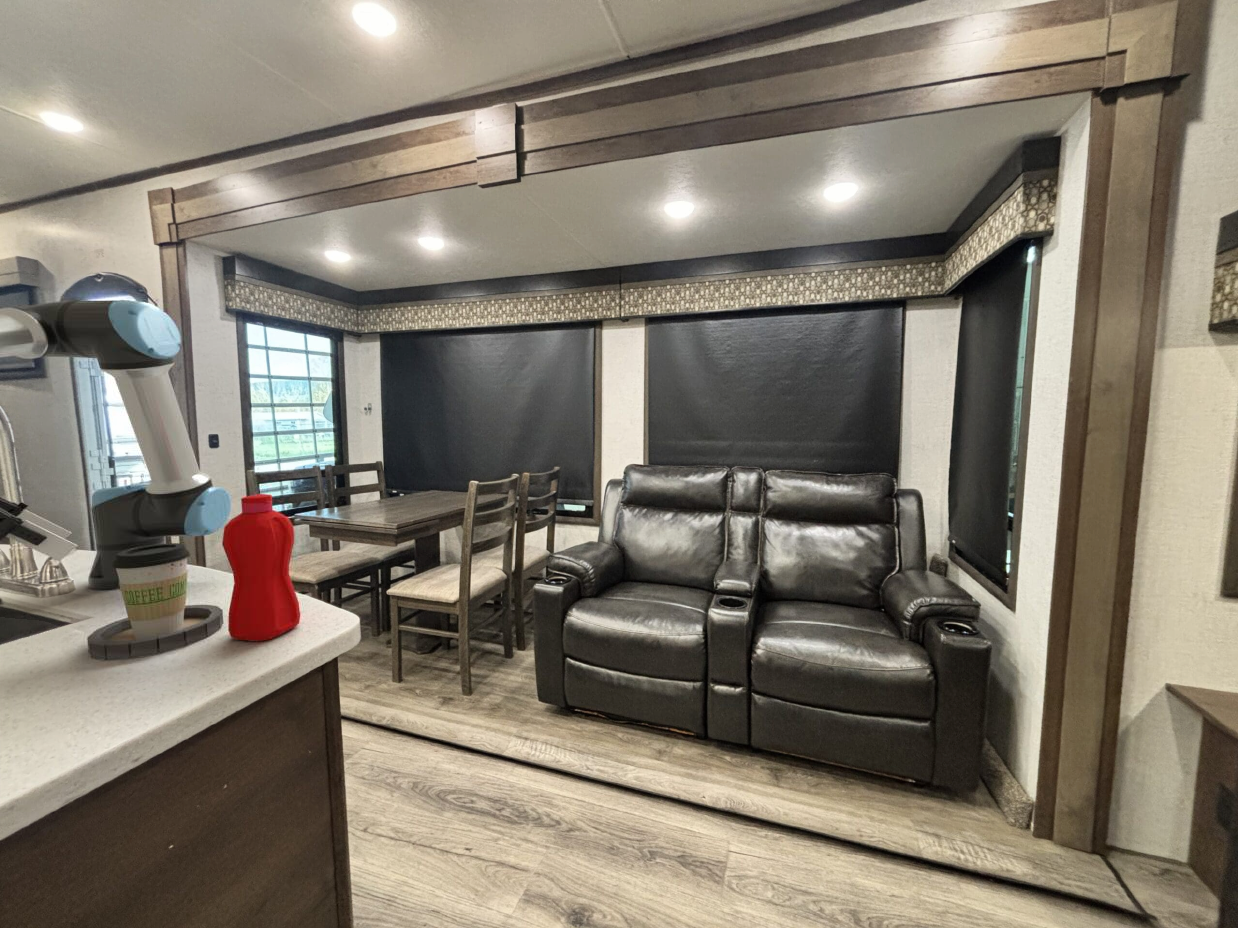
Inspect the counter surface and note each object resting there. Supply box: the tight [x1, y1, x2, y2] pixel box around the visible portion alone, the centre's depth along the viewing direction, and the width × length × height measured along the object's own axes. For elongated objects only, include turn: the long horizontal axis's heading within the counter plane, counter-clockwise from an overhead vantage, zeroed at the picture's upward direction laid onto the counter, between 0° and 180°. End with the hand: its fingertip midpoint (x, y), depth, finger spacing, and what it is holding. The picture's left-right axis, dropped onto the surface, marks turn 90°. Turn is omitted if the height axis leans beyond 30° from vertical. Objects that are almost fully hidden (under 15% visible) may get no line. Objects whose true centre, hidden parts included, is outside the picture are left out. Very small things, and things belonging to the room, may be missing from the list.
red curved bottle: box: [221, 493, 301, 642], centre depth 86 cm, size 9×11×25 cm
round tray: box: [86, 604, 224, 661], centre depth 86 cm, size 17×17×2 cm
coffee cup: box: [112, 542, 191, 640], centre depth 85 cm, size 10×10×15 cm
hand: (66, 546), depth 77 cm, fingers open, 13 cm apart
